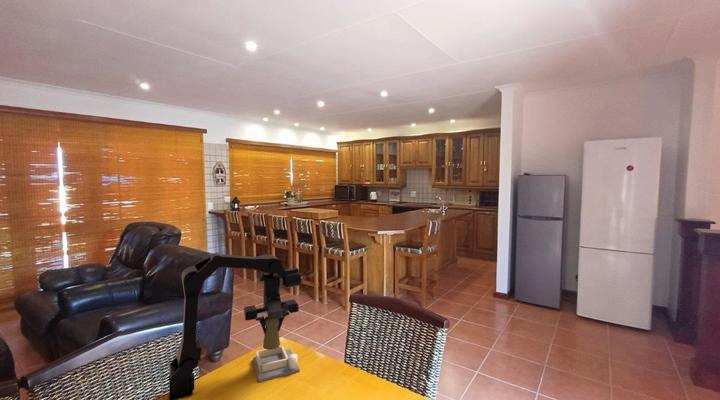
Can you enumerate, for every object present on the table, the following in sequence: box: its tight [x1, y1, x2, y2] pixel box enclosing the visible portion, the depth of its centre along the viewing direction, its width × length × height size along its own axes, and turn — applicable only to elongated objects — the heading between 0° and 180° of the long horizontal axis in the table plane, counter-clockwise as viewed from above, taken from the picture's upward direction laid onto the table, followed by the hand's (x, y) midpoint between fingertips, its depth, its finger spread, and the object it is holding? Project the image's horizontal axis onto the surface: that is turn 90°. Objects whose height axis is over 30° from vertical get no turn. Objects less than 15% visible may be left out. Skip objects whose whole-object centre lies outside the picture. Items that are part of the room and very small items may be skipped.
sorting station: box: [252, 345, 301, 383], centre depth 117 cm, size 14×14×5 cm
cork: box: [262, 315, 281, 350], centre depth 117 cm, size 6×6×11 cm
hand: (271, 332), depth 117 cm, fingers closed on cork, 5 cm apart
